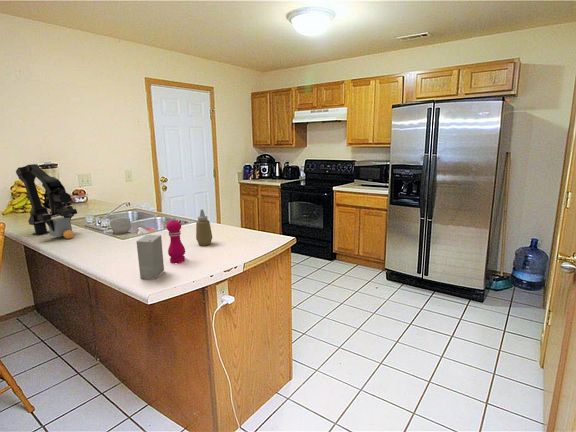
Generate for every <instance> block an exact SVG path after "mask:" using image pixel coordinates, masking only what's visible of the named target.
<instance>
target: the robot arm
mask: <svg viewBox="0 0 576 432" xmlns="http://www.w3.org/2000/svg"><path fill="white" fill-rule="evenodd" d="M15 173H16V176H17V177H18V179H19V180H20V181H21V182H22V183H23V184H24V187H25V190H26V193H27V196H28V200H29V203H30V206H31V209H30V212H29V215H30V216H29V218H28V221H27V222H28V224H29V226H30V225H31V226H33V228H34V229H33V230H34V232H33V233H32V235H35V236H41V235H45V234H47V233H49V234H50V231H49V230H48V229H47V227H48V228H49V227H50V229H51V230H52V231H54V226H53V220H52V219H53V218H55V217H64V218H70V221H72V218H73V217H75V215H77V214H78V210H77V209H76V208H74V207H73V206H72V205H68V206H65V204H68V203H70V201H71V199H72V197H71V194H69V193H68V192H67V191H66V189H65V186H64V185H63V183H62V182H61V181H60V180H59V179H58V178H57V177H55V176H50V175H49V174H48V173H47V172H46V171H44V170H43V169H42V168H41V167H40V165H38V164H37V163H34V164H33V163H32V164H27V165H25V166H20V167H17V169H16V170H15ZM36 178H37V179H38V180H39V181H40V182H41V184H42V185H41V186H42V187H43V189H44V190H45V191H46V192H45V194H46V195H47V197H48V203H49V204H47V205H48V207H49V208H50V211H49V210H48V208H47V207H44V206H43V205H42V202H41V199H40V196H39V193H38V189H37V186H36V184H35V183H36V182H35V180H36ZM48 211H49V212H48Z"/></svg>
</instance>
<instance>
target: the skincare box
mask: <svg viewBox="0 0 576 432" xmlns="http://www.w3.org/2000/svg"><path fill="white" fill-rule="evenodd" d="M162 241H163V240H162V235H161V234H145V235H144V236H142V237H141V238H139V239H138V240H136V249H137V258H138V268H139V276H140V277H139V278H140V280H141V279H142V280H157V278H158V277H160V275H161V274H163V273H164V272H165V267H164V266H165V265H164V255H163V254H164V253H163V242H162ZM143 278H144V279H143Z"/></svg>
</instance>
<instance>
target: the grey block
mask: <svg viewBox="0 0 576 432" xmlns="http://www.w3.org/2000/svg"><path fill="white" fill-rule="evenodd" d="M51 219H52V220H53V226H54V231H52V230H51V229H50V227H49V226H48V231H50V232H49V235H50V236H51V237H58V238H59V237H64V236H63V233H64V231H66V230H72V231H73V227H72V222H71V221H72V220H70V218H64V217H62V216H59V217H57V218H55V217H54V218H51Z"/></svg>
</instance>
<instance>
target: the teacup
mask: <svg viewBox="0 0 576 432" xmlns="http://www.w3.org/2000/svg"><path fill="white" fill-rule="evenodd" d="M109 225H110V228H111V231H112V232H113V233H115V234H118V235H119V234H125V233H128V232H129V231H130V230H131V228H132V222H131V218H130V217H128V216H124V217H118V218H117V217H116V218H113V219H110V220H109Z"/></svg>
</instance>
